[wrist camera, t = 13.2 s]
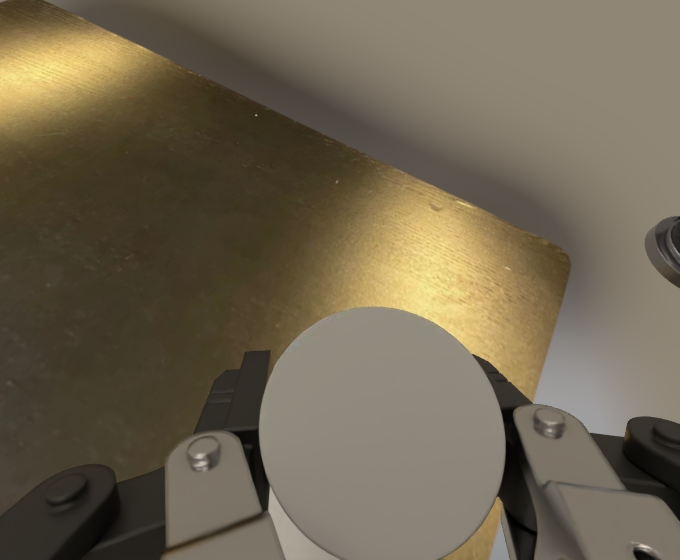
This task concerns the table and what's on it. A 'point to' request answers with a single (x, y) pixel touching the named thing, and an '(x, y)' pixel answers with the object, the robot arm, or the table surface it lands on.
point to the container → (382, 437)
